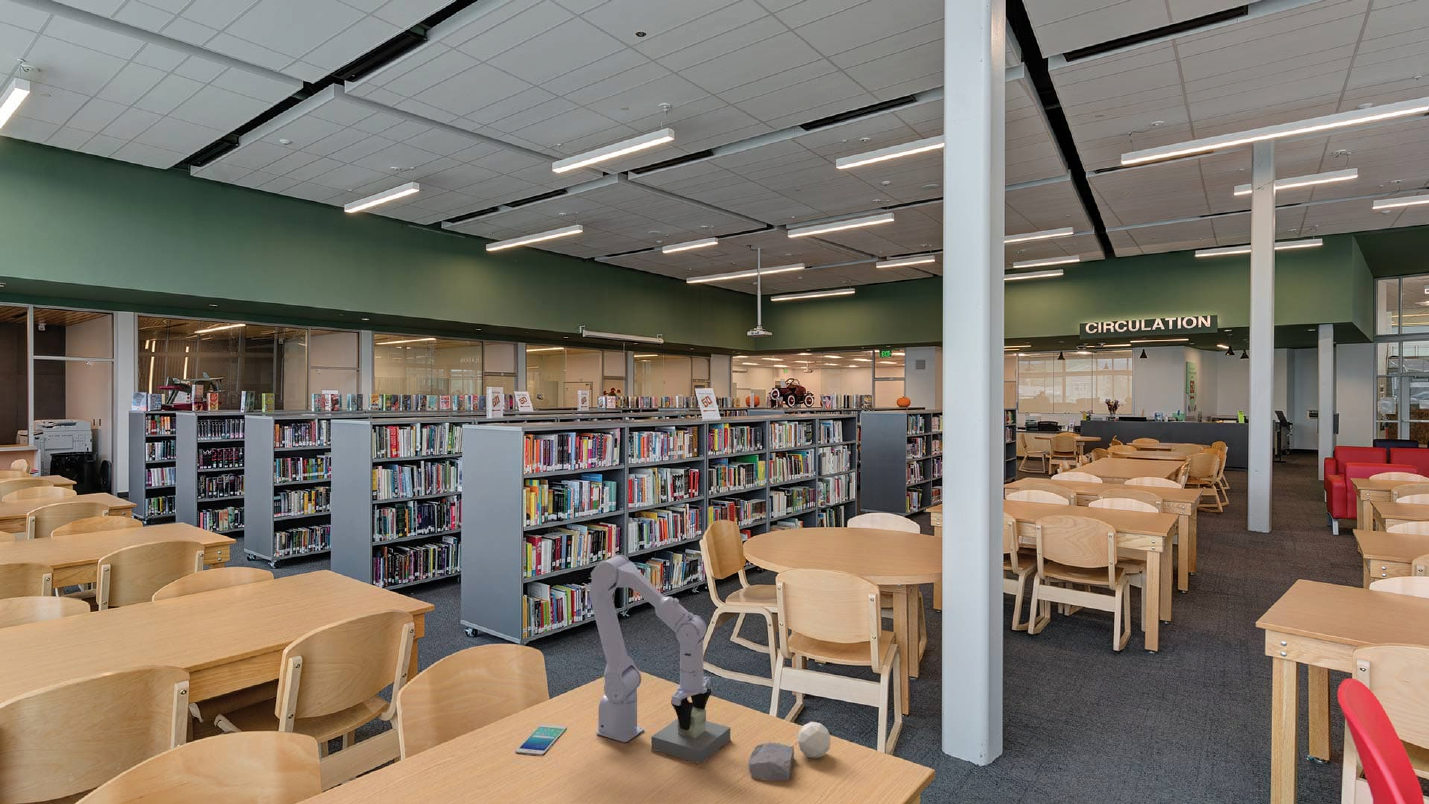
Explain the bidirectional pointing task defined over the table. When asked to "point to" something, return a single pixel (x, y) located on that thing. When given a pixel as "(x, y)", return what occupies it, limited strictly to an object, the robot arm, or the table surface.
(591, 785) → the table surface
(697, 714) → the sage green cube
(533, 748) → the smartphone
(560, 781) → the table surface
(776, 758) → the stone block
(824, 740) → the geometric ball
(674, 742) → the stacking base
